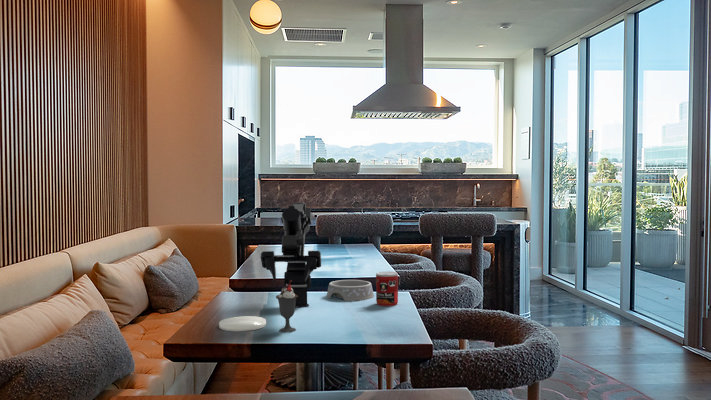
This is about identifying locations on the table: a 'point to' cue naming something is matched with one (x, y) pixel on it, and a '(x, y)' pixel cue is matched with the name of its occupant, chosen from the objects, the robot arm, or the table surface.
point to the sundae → (287, 306)
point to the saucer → (242, 323)
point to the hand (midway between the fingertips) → (289, 281)
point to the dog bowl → (350, 290)
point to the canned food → (387, 288)
